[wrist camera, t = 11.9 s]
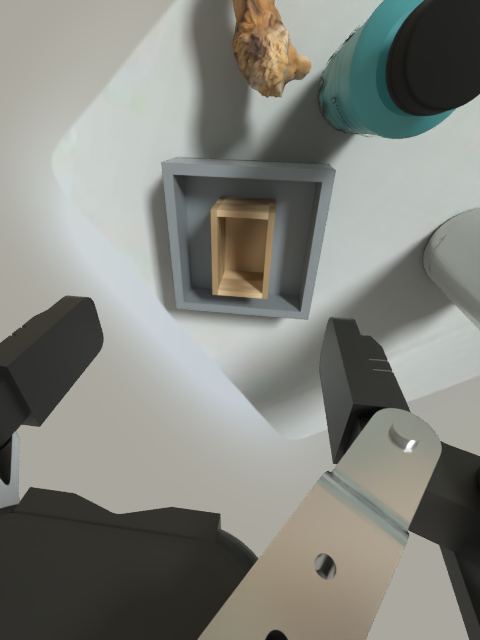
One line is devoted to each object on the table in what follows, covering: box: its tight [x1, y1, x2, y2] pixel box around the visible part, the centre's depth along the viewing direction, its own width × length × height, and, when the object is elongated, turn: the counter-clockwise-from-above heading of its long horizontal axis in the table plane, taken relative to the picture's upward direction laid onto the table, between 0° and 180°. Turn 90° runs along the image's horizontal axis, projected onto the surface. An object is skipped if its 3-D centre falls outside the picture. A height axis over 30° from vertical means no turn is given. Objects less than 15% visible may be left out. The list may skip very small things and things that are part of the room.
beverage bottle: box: [318, 0, 480, 139], centre depth 19 cm, size 6×7×20 cm
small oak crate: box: [211, 196, 276, 299], centre depth 33 cm, size 6×9×6 cm, turn 178°
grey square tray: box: [161, 157, 336, 320], centre depth 34 cm, size 16×16×5 cm
